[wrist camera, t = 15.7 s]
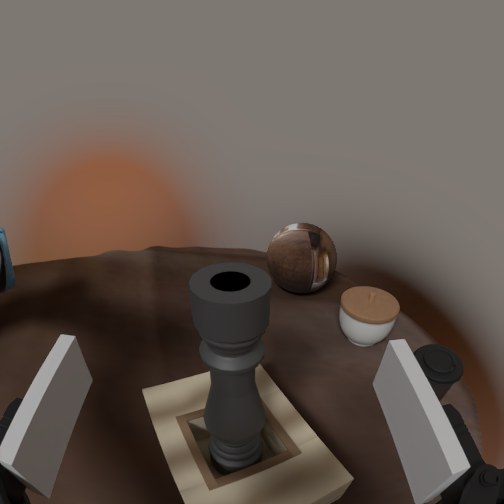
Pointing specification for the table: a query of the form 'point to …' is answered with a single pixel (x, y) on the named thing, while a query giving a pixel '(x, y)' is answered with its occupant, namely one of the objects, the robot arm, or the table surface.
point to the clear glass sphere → (301, 258)
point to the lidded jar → (367, 314)
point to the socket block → (256, 476)
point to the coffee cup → (439, 367)
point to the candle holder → (232, 358)
